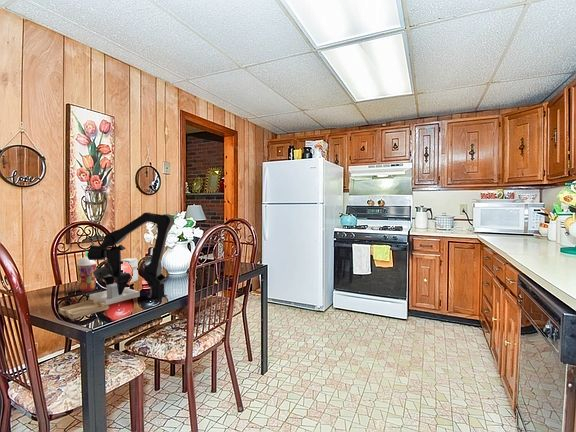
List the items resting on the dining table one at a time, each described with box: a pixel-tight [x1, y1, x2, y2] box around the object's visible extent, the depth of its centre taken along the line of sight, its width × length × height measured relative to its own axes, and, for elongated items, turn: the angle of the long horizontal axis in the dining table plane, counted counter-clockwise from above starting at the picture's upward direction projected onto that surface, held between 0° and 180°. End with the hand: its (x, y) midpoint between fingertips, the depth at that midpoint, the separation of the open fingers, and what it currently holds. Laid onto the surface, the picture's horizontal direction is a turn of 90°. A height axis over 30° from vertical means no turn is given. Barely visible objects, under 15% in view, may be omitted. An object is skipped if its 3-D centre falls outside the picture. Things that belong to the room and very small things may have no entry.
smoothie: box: [76, 250, 97, 293], centre depth 160 cm, size 8×8×20 cm
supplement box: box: [121, 257, 139, 284], centre depth 177 cm, size 7×7×13 cm
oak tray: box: [58, 299, 110, 321], centre depth 130 cm, size 13×13×2 cm
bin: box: [88, 287, 140, 306], centre depth 147 cm, size 15×15×2 cm
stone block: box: [105, 282, 123, 299], centre depth 147 cm, size 5×5×6 cm
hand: (115, 293), depth 147 cm, fingers open, 9 cm apart
